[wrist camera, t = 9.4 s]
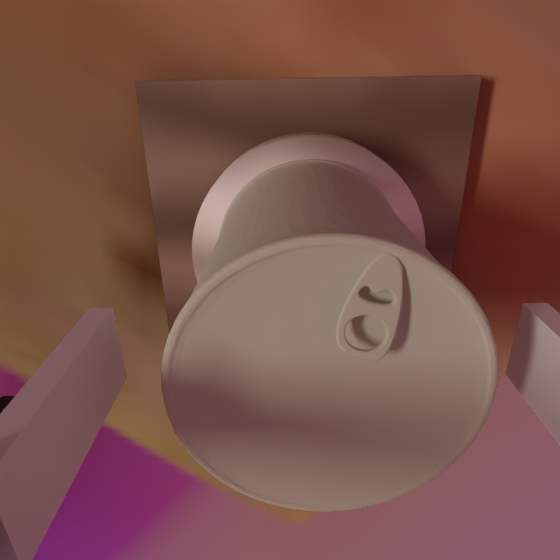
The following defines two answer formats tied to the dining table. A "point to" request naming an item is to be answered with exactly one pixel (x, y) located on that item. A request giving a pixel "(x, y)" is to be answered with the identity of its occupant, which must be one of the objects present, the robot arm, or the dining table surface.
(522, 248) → the dining table surface
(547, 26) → the dining table surface
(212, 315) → the can
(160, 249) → the stand
